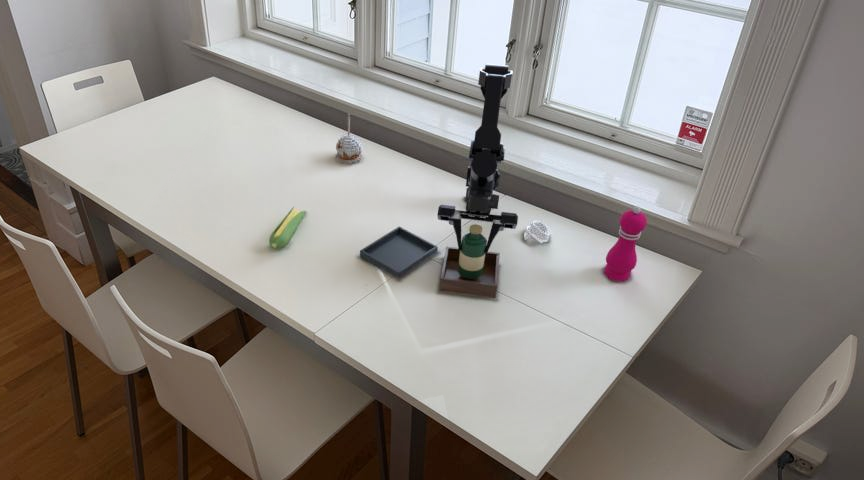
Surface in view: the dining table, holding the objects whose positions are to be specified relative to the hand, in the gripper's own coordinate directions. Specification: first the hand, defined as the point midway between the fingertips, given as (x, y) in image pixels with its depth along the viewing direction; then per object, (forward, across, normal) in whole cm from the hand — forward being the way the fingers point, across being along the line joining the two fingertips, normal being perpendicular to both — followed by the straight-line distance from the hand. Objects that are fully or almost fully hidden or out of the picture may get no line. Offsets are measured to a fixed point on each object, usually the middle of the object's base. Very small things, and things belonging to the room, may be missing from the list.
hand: (472, 252), depth 157 cm
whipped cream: (-10, +16, +23) cm, 30 cm away
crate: (+6, 0, +7) cm, 9 cm away
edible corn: (-1, -49, +14) cm, 51 cm away
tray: (+1, -18, +12) cm, 22 cm away
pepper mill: (-1, +36, +14) cm, 39 cm away
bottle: (+4, 0, +6) cm, 7 cm away
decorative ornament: (-31, -42, +45) cm, 69 cm away
